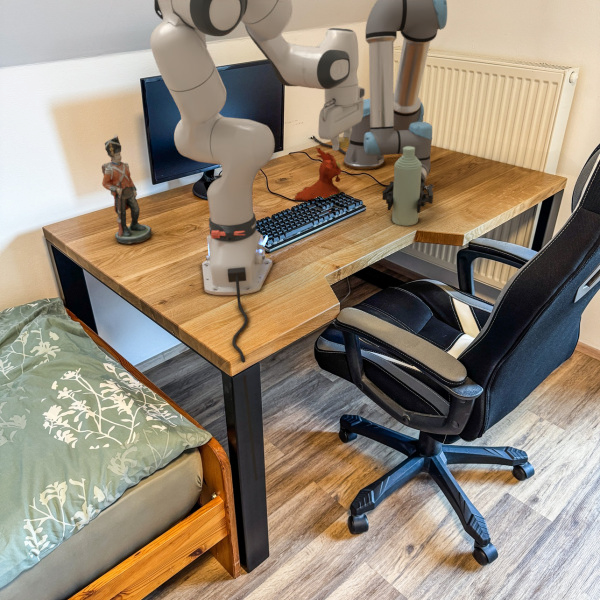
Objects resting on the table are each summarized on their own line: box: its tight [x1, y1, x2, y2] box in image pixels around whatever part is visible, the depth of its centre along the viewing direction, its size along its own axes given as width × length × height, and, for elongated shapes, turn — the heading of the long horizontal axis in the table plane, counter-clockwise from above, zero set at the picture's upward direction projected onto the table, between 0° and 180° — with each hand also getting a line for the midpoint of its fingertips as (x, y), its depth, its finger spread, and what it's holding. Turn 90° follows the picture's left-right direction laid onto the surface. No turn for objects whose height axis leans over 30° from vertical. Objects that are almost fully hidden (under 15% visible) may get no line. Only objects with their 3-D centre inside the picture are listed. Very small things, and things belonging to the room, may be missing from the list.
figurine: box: [101, 134, 152, 245], centre depth 160 cm, size 11×11×30 cm
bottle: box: [391, 146, 422, 227], centre depth 166 cm, size 8×8×22 cm
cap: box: [338, 136, 349, 149], centre depth 155 cm, size 5×5×2 cm
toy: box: [294, 147, 342, 202], centre depth 188 cm, size 13×18×15 cm
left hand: (341, 146), depth 156 cm, fingers closed on cap, 4 cm apart
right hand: (403, 207), depth 164 cm, fingers closed on bottle, 8 cm apart
